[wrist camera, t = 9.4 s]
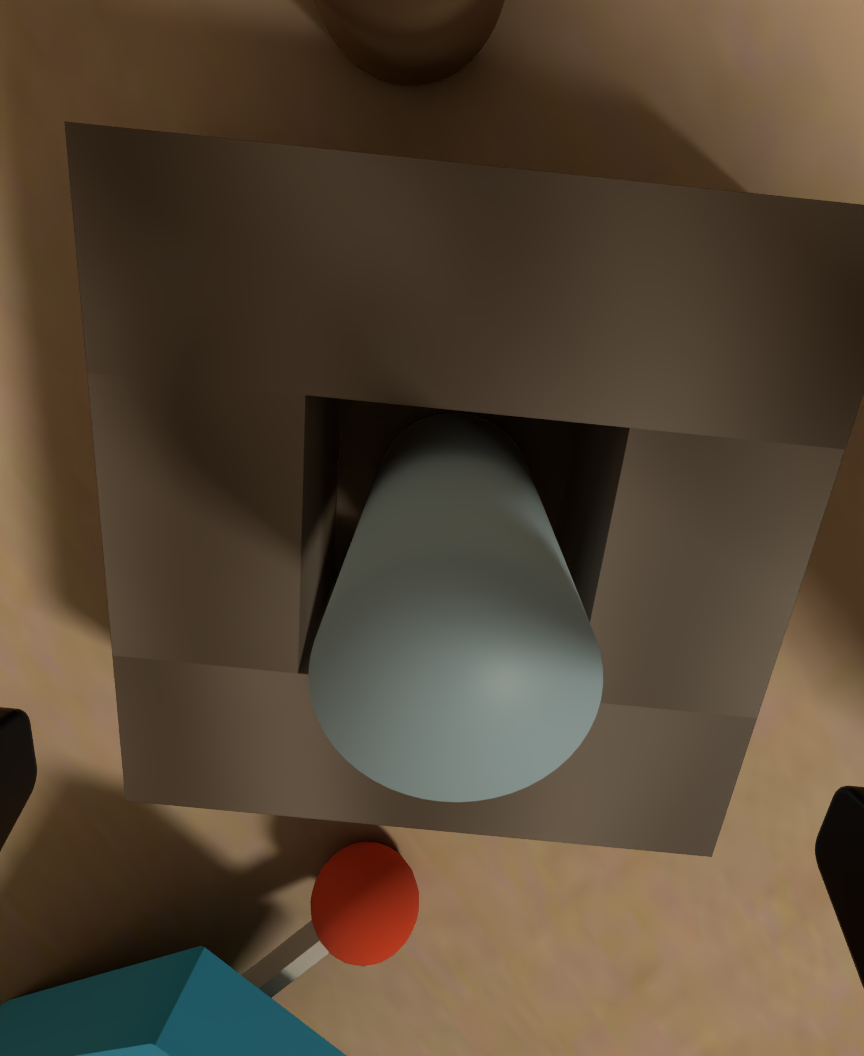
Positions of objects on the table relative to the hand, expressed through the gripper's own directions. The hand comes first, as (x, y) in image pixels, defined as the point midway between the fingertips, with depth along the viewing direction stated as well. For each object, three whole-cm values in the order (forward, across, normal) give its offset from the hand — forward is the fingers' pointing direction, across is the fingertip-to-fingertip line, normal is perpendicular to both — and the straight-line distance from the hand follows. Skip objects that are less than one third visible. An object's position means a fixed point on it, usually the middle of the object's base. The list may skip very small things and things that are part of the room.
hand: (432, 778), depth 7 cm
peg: (+11, 0, 0) cm, 11 cm away
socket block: (+11, 0, 0) cm, 11 cm away
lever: (+11, +6, +19) cm, 23 cm away
